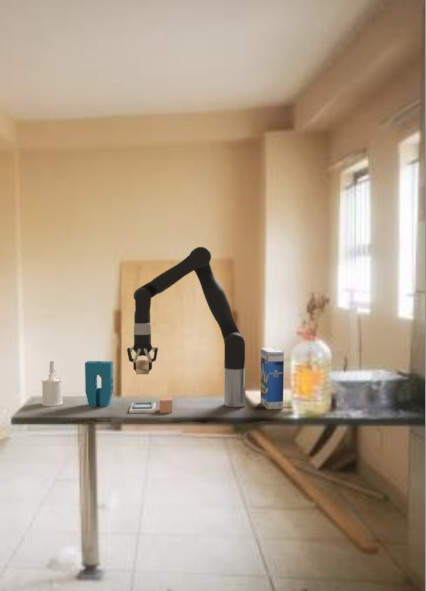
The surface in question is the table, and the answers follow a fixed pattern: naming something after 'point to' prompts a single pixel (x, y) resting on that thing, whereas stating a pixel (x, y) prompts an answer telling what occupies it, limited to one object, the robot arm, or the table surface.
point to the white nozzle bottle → (52, 388)
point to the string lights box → (272, 378)
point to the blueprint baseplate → (142, 407)
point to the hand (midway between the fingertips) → (142, 370)
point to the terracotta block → (166, 404)
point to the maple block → (142, 367)
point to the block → (106, 373)
